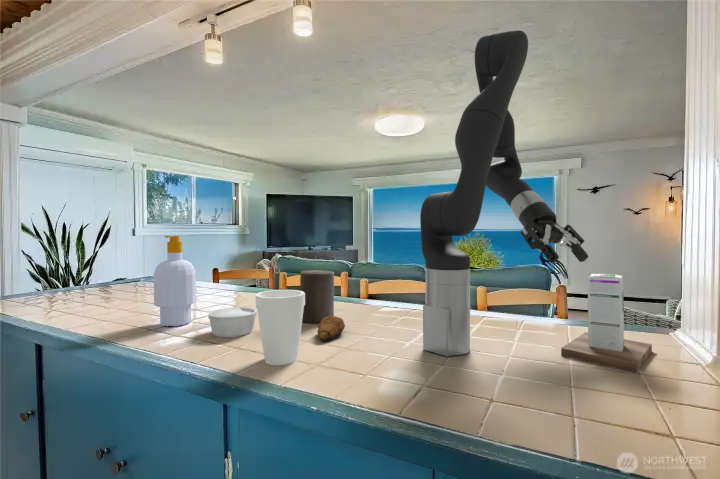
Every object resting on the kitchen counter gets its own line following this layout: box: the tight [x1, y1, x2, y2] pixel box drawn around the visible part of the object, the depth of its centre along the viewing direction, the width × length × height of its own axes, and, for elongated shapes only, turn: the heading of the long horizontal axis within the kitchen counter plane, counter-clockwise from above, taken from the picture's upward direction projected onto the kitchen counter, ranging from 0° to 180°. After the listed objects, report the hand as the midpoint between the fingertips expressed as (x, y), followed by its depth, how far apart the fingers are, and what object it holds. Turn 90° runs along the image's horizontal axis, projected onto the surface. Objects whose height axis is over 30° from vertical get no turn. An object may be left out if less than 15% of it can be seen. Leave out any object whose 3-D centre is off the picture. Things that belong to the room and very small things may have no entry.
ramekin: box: [207, 307, 257, 338], centre depth 89 cm, size 11×11×5 cm
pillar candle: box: [299, 266, 335, 325], centre depth 101 cm, size 10×10×15 cm
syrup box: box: [587, 273, 625, 352], centre depth 72 cm, size 6×6×14 cm
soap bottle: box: [153, 235, 197, 328], centre depth 97 cm, size 10×10×24 cm
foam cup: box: [255, 289, 305, 366], centre depth 69 cm, size 10×9×13 cm
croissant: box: [317, 315, 346, 342], centre depth 86 cm, size 14×7×5 cm, turn 167°
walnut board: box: [560, 331, 653, 374], centre depth 72 cm, size 16×12×2 cm
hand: (570, 260), depth 80 cm, fingers open, 8 cm apart
